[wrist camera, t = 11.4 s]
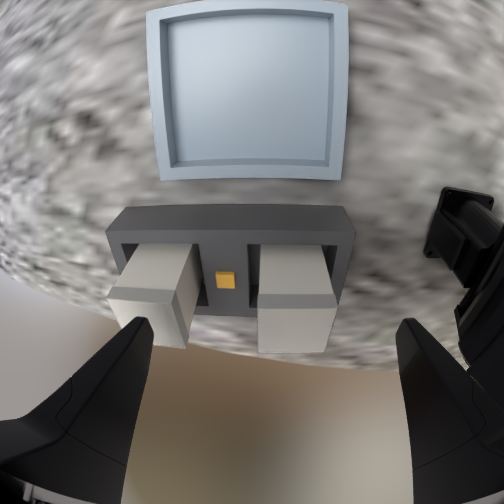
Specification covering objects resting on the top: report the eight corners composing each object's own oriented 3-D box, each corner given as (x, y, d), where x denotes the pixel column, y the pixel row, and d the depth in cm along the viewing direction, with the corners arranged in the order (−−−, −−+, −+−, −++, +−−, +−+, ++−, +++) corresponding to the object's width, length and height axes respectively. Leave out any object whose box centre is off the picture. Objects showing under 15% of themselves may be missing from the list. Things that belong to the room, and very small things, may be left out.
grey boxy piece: (342, 206, 19) (378, 281, 12) (328, 286, 23) (344, 365, 17) (125, 207, 19) (72, 273, 13) (146, 281, 24) (116, 352, 17)
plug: (197, 231, 19) (170, 303, 14) (204, 276, 22) (186, 348, 16) (145, 232, 20) (105, 298, 14) (157, 274, 22) (128, 341, 16)
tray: (338, 11, 11) (347, 4, 9) (333, 169, 17) (340, 180, 16) (158, 17, 11) (146, 11, 10) (170, 170, 18) (160, 180, 16)
